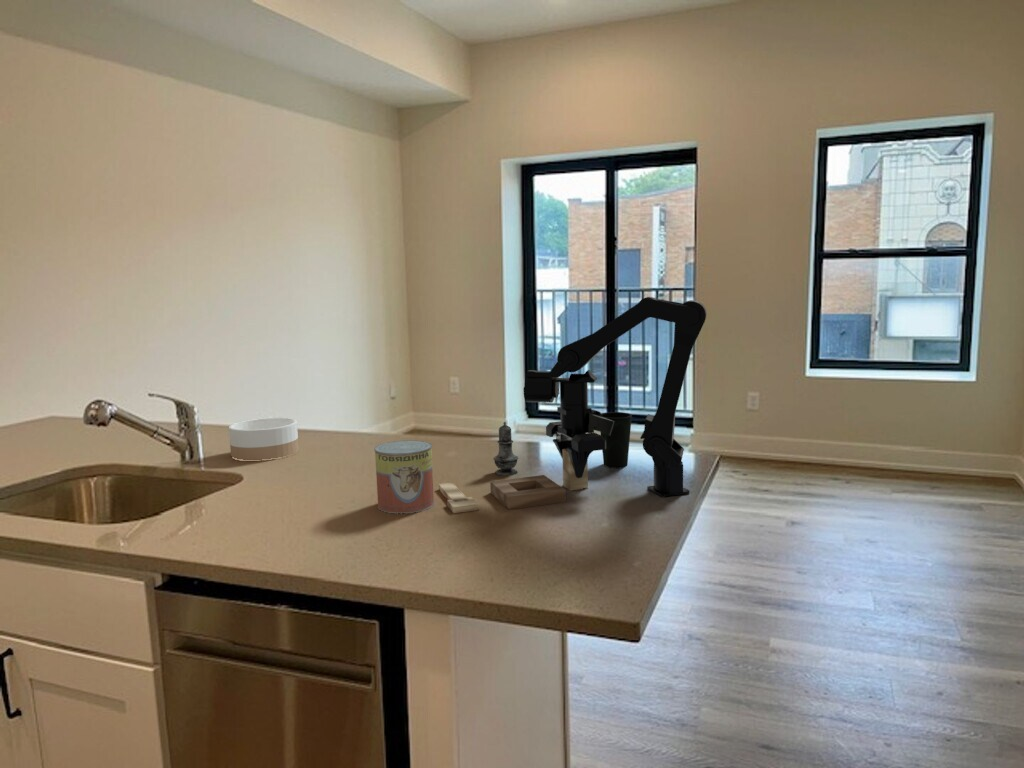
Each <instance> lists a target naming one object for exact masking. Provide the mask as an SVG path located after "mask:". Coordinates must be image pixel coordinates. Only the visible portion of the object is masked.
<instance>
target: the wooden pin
mask: <svg viewBox="0 0 1024 768" xmlns="http://www.w3.org/2000/svg"><path fill="white" fill-rule="evenodd" d="M562 452H563V459H562V486H563V487H564V488H566V489H568V490H569V491H574V490H576V491H577V490H583V488H585V489H589V479H588V477H589V474H588V473H589V471H588V469H589V468H588V467H589V466H588V465H589V464H588V460H587V463H586V466H585V469H584V473H583V476H582V478H577V477H576V474H575V471H574V468H573V465H572V462H571V459H570V456H569V453H568V450H567V449H562Z"/></svg>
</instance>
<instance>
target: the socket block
mask: <svg viewBox="0 0 1024 768" xmlns="http://www.w3.org/2000/svg"><path fill="white" fill-rule="evenodd" d="M489 483H490V494H491V495H492V496H493V497H494V498H496V499H497V500H498V501H499V502H500V503H501V504H502V505H503V506H504V507H505V508H507V510H515V509H521V508H530V507H531V508H532V507H538V506H544V505H545V506H546V505H552V504H560V503H561V504H562V503H566V502H567V498H566V497H567V496H566V494H567V493H566V492H567V491H566V489H565V487H562V486H561V485H560V484H558V483H556V482H555V481H553V480H552V479H550V478H549V477H547V476H546V475H545V474H540V475H534V476H532V475H531V476H523V477H517V478H516V477H515V478H508V479H499V480H490V481H489Z"/></svg>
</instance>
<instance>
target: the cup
mask: <svg viewBox="0 0 1024 768" xmlns="http://www.w3.org/2000/svg"><path fill="white" fill-rule="evenodd" d="M601 417H604V418H607V419H609V420H612V421H614V425H613V428H612V431H611V434H610V435H606V434H605V433H603V432H600V435H601V436H603V437H604V438H605V439H606V449H605V450H601V451H602V459H603V466H604V465H606V466H609V467H608V468H611V467H616V468H620V467H621V468H626V467H628V464H629V462H628V461H629V451H630V440H631V430H632V429H631V428H632V417H633V415H632V414H631V413H628V412H622V411H609V412H603V413H601ZM606 466H605V467H606Z"/></svg>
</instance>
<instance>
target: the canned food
mask: <svg viewBox="0 0 1024 768" xmlns="http://www.w3.org/2000/svg"><path fill="white" fill-rule="evenodd" d="M432 448H433V445H432V444H431V443H430V442H428V441H424V440H397V441H396V440H395V441H390V442H385V443H382V444H381V443H380V444H378V445H376V446H375V447H374V456H375V472H376V473H375V475H376V490H377V491H376V492H377V510H379V511H380V510H381V511H380V512H382V511H384V512H383V513H385V512H388V513H387V514H390V513H397V514H396V515H399V514H398V513H401V514H400V515H403V514H402V513H410V514H414V513H413V512H416V513H420V511H421V512H424V511H427V510H429V509H431V508H433V507H434V506H435V499H434V498H435V497H434V477H433V470H434V469H433V453H432V451H433V450H432Z"/></svg>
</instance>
